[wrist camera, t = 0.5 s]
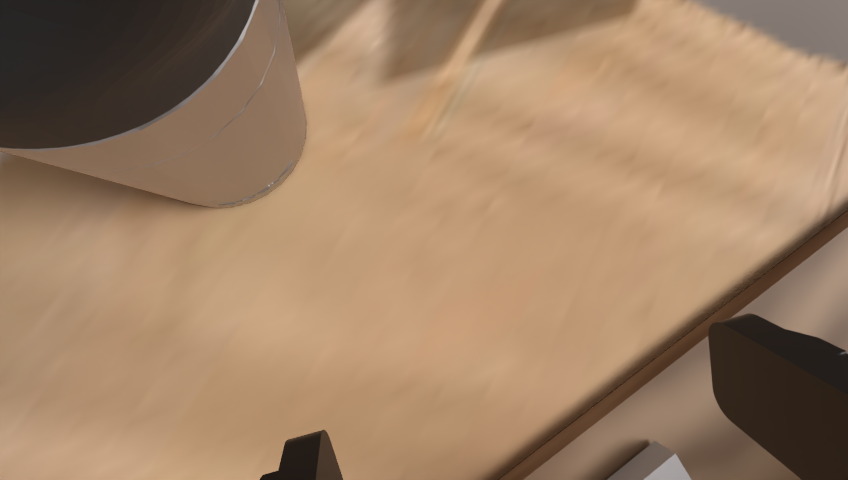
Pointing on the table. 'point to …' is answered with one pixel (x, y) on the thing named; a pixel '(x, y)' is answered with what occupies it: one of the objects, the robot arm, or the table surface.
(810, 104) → the table surface
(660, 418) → the base
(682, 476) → the white cylinder on base
